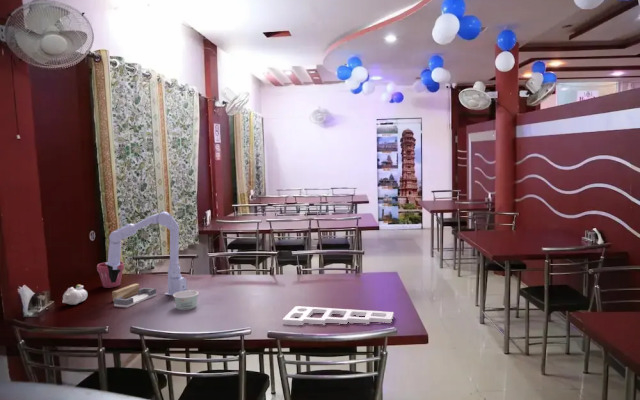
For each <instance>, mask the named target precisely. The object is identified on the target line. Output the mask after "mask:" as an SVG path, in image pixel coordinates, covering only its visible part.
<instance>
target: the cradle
mask: <svg viewBox="0 0 640 400" xmlns="http://www.w3.org/2000/svg"><path fill="white" fill-rule="evenodd" d="M156 296H157V288H153V287H152V288H151V287H142V288H139V290H138V293H137V294H135V295H132V296H130V297H127V298H125V299H123V297H118V298H115V299H114V301H113V306H114V307H119V308H129V307H131V306H134V305H136V304H138V303H141V302H143V301H146V300H148V299H151V298H153V297H156Z"/></svg>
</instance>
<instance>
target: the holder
mask: <svg viewBox="0 0 640 400" xmlns="http://www.w3.org/2000/svg"><path fill="white" fill-rule="evenodd" d="M313 313H324V314H322V316H321V317H312V316H313V315H314V314H313ZM332 314H340V315H339V316H342V317H337V316H336V317H335V316H333V315H332ZM311 315H312V316H311ZM331 315H332V316H331ZM353 315H356V316H353ZM394 315H395V314H394V311H380V310H367V309H366V310H364V309H362V310H361V309H350V308H346V309H345V308H334V307H333V308H331V307H318V306H316V307H315V306H303V305H302V306H300V305H299V306H298V305H295V306H294V308H292V309H291V310H290V311H289V312H288V313H287V314H286V315H285V316H284V317H283V318H282V325H287V326H299V325H303V324H304V323H309V324H308V325H313V324H323V325H322V326H326V324H325V323H339V324H338V325H340V324H347V323H348V322H349V323H348V324H353V323H366V324H365V325H367V324H369V325H370V323H369V322H383V323H384V322H385V323H391V322H392V323H393V321H392V319H393V320H394V318H393V317H394ZM310 316H311V317H310ZM359 316H365V317H359ZM295 317H298V318H295ZM392 323H391V324H392ZM348 324H347V325H348ZM304 325H305V324H304ZM304 325H303V326H304Z"/></svg>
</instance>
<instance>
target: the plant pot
mask: <svg viewBox="0 0 640 400" xmlns="http://www.w3.org/2000/svg"><path fill="white" fill-rule="evenodd" d="M105 263H106V261H105V262H101V263H98V264H97V266H96V270H97V271H96V272H98V274H99V277H100V281H101V284H102V287H103V288H109V289H110V288H115V287H119V286H121V281H122V277H123V271H124V269H125V264H124V262H123V261H120V265H119V266H118V268H117V269H120V272H119V274H118V276H117V279H116V282H114V283H111V279H110V278H109V271H108V267H107V265H106V264H105Z"/></svg>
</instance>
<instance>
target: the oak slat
mask: <svg viewBox="0 0 640 400" xmlns="http://www.w3.org/2000/svg"><path fill="white" fill-rule="evenodd" d="M139 289H140V284H139V283H132V284H129V285H127V286H124V287H121V288H119V289H116V290H113V291H112V292H111V293H112V302H114V299H115V298H118V297H123V299H128V298H131V297H133V296H136V295H138V290H139Z"/></svg>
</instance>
